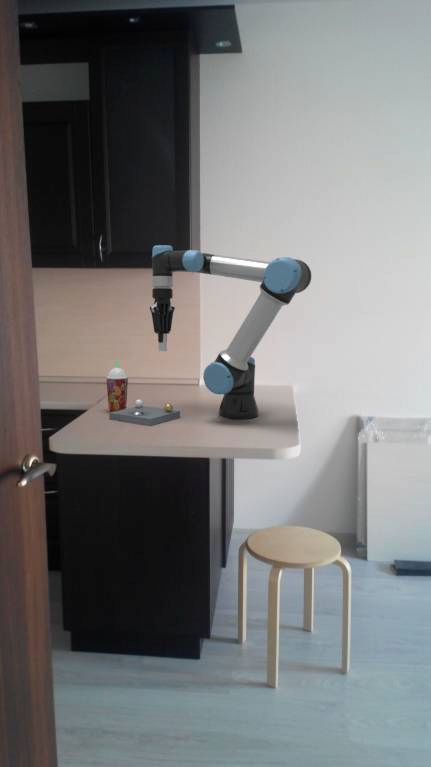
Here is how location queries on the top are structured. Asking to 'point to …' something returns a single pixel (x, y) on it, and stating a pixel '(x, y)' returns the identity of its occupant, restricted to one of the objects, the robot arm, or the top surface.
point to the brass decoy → (168, 407)
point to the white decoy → (138, 403)
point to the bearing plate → (144, 415)
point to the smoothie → (117, 389)
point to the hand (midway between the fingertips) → (162, 350)
